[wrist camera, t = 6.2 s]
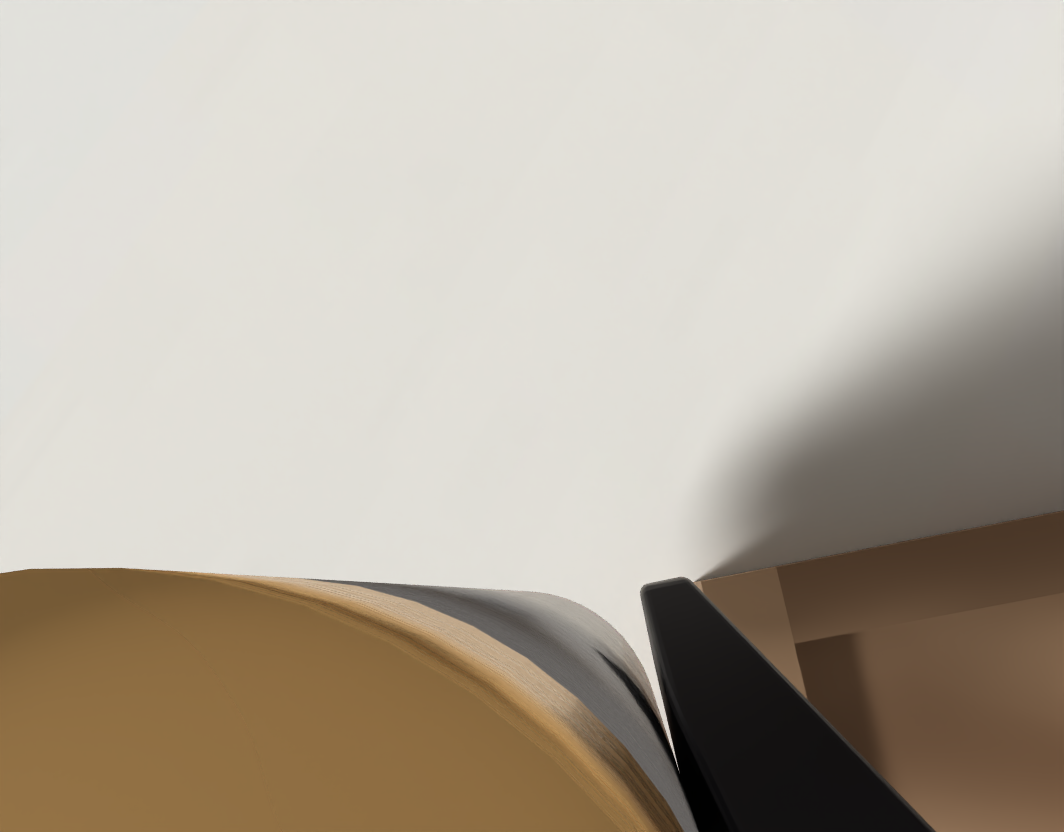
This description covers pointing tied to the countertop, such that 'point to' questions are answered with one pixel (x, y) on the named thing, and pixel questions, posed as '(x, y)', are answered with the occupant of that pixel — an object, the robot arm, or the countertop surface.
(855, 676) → the wooden tray
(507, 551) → the countertop surface
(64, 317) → the countertop surface
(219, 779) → the silver metal cylinder
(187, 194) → the countertop surface
